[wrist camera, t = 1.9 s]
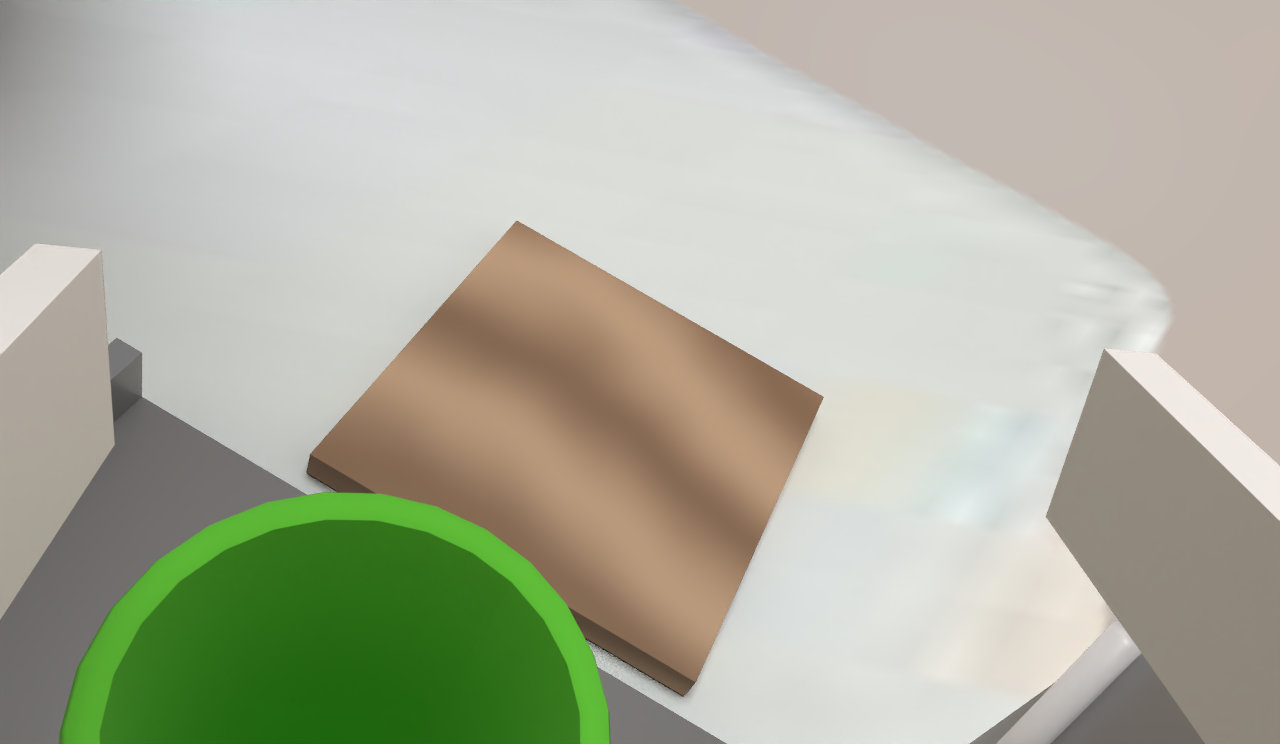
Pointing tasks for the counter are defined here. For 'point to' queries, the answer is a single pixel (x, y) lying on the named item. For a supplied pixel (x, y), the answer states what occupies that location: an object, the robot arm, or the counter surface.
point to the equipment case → (230, 484)
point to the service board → (585, 445)
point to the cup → (339, 637)
